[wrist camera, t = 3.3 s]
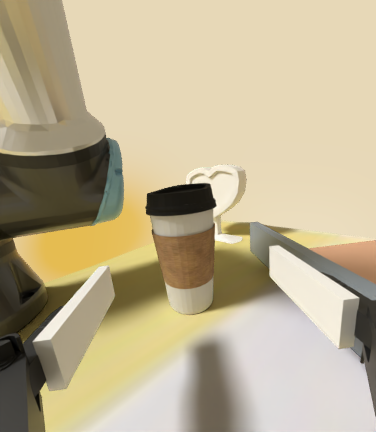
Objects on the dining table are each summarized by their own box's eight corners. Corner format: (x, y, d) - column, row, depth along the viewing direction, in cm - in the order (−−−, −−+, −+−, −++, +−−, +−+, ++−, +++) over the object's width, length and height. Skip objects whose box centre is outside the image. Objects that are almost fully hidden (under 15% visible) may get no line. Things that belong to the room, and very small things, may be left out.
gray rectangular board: (387, 383, 13) (399, 311, 11) (250, 250, 36) (249, 222, 35) (407, 379, 13) (421, 308, 12) (257, 250, 36) (257, 221, 35)
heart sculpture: (189, 234, 50) (182, 170, 47) (200, 230, 54) (195, 169, 50) (239, 245, 40) (236, 162, 36) (249, 238, 43) (247, 161, 39)
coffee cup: (231, 287, 25) (225, 180, 22) (206, 334, 18) (192, 187, 15) (181, 276, 29) (171, 185, 26) (146, 310, 22) (125, 192, 19)
